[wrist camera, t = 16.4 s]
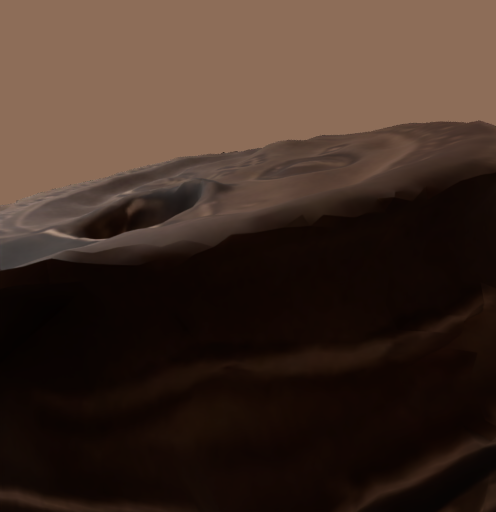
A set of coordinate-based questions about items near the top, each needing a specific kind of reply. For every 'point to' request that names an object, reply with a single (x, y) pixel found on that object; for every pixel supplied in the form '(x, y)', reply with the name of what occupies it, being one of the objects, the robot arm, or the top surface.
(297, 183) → the coffee cup
